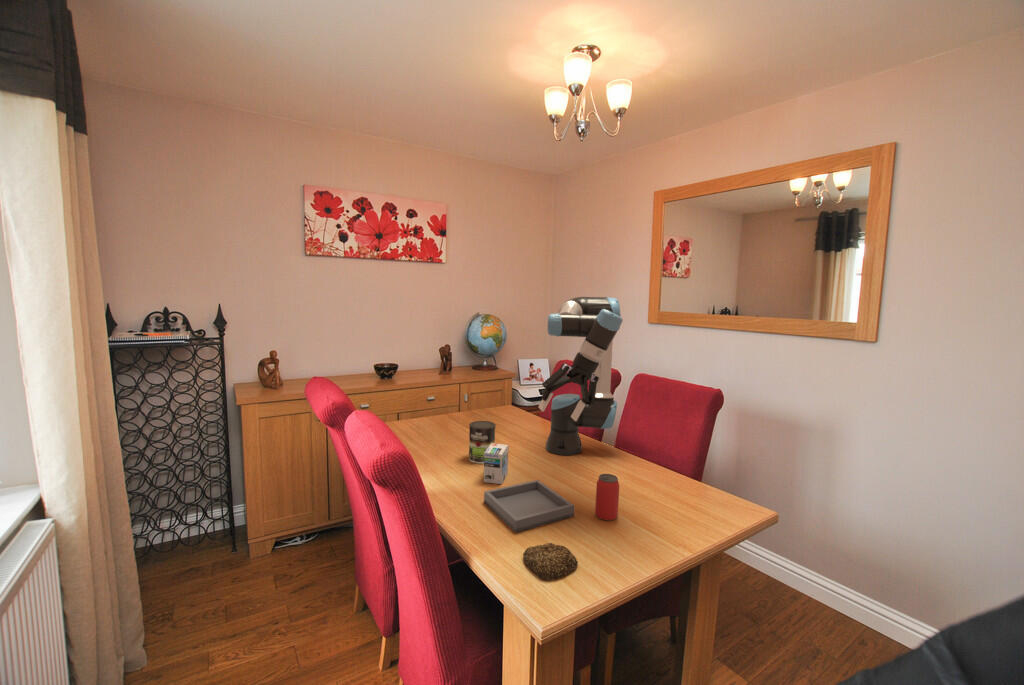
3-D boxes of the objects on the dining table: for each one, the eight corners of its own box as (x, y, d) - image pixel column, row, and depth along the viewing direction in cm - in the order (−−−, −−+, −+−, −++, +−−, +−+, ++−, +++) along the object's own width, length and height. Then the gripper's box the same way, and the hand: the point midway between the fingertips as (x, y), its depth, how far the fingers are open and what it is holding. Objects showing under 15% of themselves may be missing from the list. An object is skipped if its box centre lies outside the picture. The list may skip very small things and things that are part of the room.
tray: (537, 489, 150) (538, 479, 150) (574, 516, 133) (574, 505, 132) (484, 502, 140) (484, 491, 140) (515, 532, 123) (516, 520, 123)
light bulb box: (501, 484, 153) (502, 454, 152) (482, 482, 155) (483, 452, 153) (508, 472, 164) (509, 444, 162) (490, 470, 165) (491, 442, 164)
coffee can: (490, 465, 170) (491, 429, 168) (465, 462, 172) (465, 426, 171) (497, 456, 180) (498, 421, 178) (473, 453, 182) (474, 419, 181)
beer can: (592, 510, 137) (594, 473, 135) (613, 510, 137) (615, 472, 136) (598, 521, 130) (600, 482, 129) (620, 521, 131) (622, 482, 129)
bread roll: (539, 585, 102) (540, 565, 101) (517, 555, 113) (517, 537, 112) (587, 572, 107) (588, 553, 106) (561, 545, 118) (562, 527, 117)
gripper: (564, 349, 130) (531, 411, 134) (623, 373, 142) (592, 428, 146) (552, 340, 136) (521, 399, 141) (610, 363, 148) (580, 416, 153)
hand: (557, 414), depth 143 cm, fingers open, 13 cm apart
